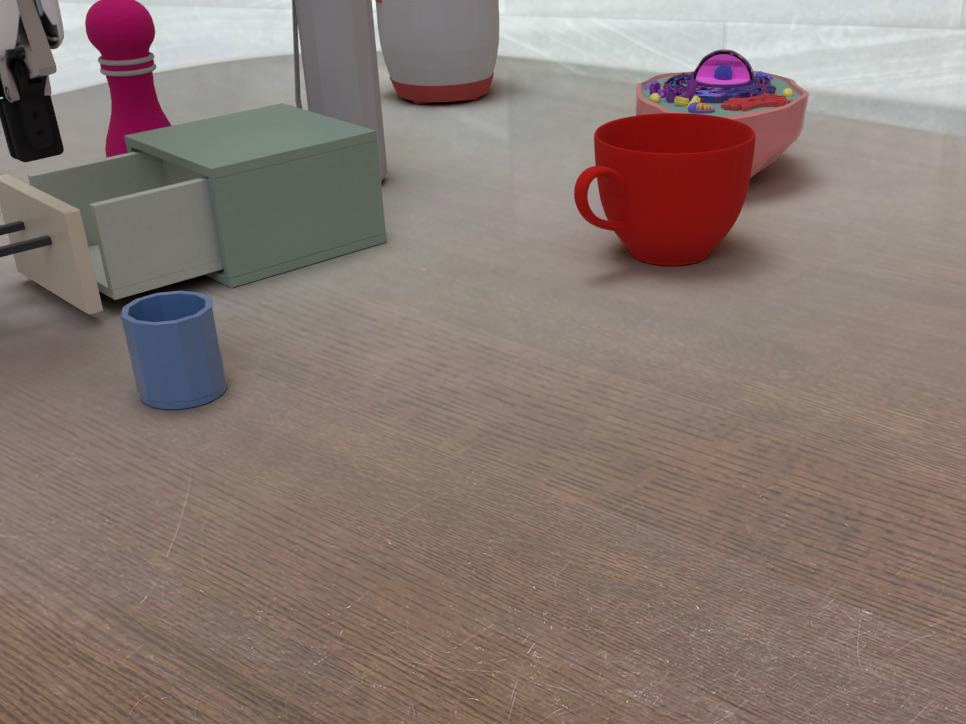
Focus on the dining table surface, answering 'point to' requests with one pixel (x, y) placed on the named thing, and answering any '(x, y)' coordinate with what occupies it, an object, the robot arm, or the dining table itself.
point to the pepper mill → (126, 68)
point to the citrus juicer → (439, 47)
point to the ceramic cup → (669, 183)
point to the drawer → (110, 227)
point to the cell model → (732, 100)
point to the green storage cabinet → (279, 186)
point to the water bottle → (339, 63)
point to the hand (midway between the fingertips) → (38, 155)
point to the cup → (174, 349)
